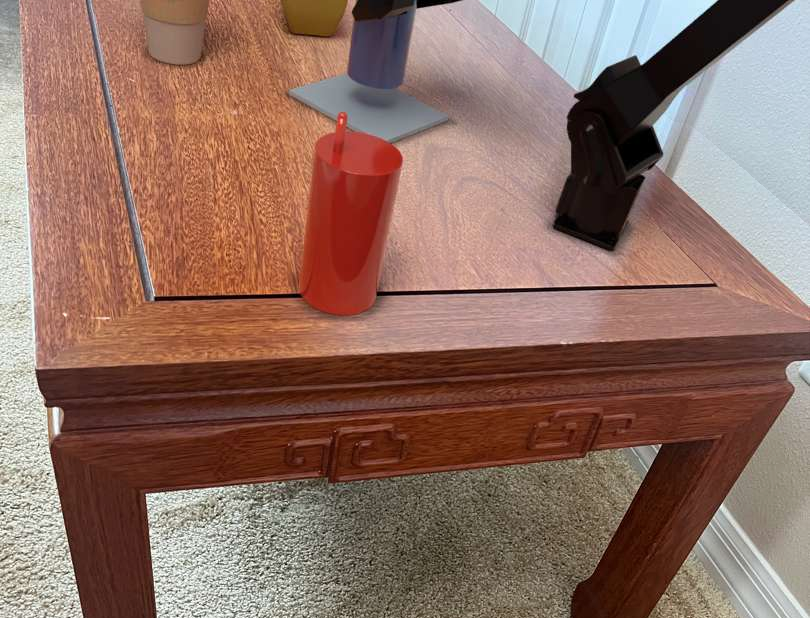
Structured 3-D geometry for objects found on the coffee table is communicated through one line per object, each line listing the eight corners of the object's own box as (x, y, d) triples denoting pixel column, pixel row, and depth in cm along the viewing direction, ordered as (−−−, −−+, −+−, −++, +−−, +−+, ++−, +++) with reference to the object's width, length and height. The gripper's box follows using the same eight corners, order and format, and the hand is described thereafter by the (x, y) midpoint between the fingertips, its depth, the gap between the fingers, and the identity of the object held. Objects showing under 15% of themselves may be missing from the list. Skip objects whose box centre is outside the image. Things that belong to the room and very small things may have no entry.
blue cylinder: (414, 81, 92) (442, -68, 82) (378, 94, 88) (403, -63, 78) (372, 60, 95) (394, -88, 85) (334, 71, 91) (353, -83, 80)
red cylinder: (366, 268, 70) (398, 96, 60) (384, 314, 66) (420, 137, 56) (292, 267, 68) (312, 90, 58) (305, 316, 64) (328, 133, 54)
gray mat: (447, 120, 95) (448, 115, 95) (382, 146, 87) (382, 141, 87) (358, 74, 101) (358, 69, 100) (288, 94, 93) (289, 89, 92)
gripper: (502, -158, 81) (397, -71, 92) (381, -156, 69) (278, -55, 80) (545, -47, 83) (438, 25, 94) (436, -25, 71) (328, 55, 82)
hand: (375, 11), depth 88 cm, fingers closed on blue cylinder, 6 cm apart
